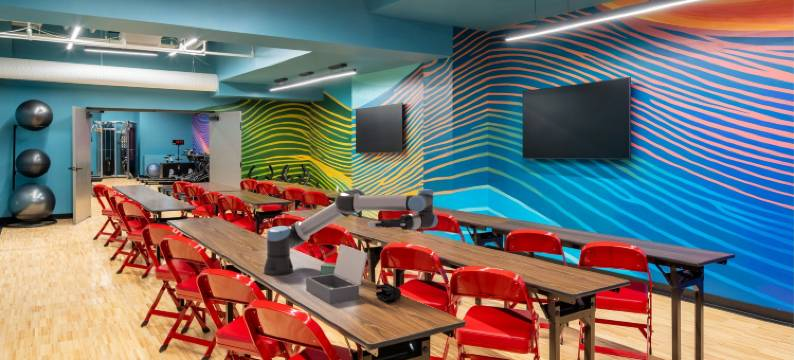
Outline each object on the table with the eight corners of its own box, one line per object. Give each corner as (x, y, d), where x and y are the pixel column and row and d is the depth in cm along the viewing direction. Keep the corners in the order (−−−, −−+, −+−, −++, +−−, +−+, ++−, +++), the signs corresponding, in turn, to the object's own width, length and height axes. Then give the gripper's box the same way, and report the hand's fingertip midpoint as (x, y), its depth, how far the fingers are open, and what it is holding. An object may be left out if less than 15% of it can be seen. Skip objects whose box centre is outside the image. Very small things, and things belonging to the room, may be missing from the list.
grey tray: (306, 290, 229) (306, 277, 229) (333, 286, 237) (333, 273, 237) (329, 304, 210) (329, 289, 209) (358, 299, 217) (359, 285, 217)
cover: (340, 244, 238) (341, 244, 238) (333, 273, 237) (335, 273, 237) (366, 253, 218) (367, 253, 219) (359, 284, 217) (360, 285, 217)
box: (346, 282, 246) (346, 266, 245) (320, 280, 249) (320, 265, 248) (350, 278, 253) (350, 263, 252) (325, 276, 256) (325, 262, 255)
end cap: (401, 302, 214) (401, 286, 214) (387, 304, 210) (387, 288, 210) (389, 296, 222) (389, 281, 222) (375, 298, 219) (375, 283, 218)
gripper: (417, 231, 240) (375, 235, 227) (401, 227, 251) (360, 231, 238) (417, 215, 240) (375, 218, 226) (401, 212, 251) (361, 215, 237)
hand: (368, 225), depth 232 cm, fingers closed
